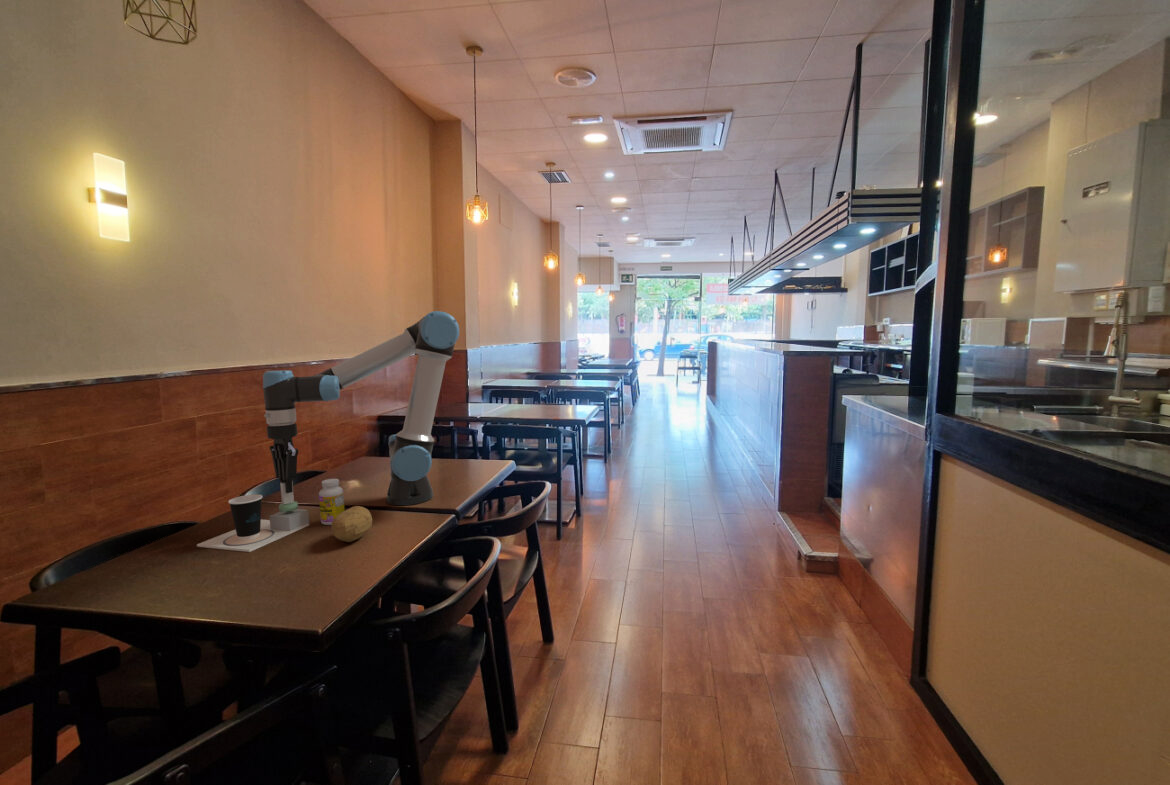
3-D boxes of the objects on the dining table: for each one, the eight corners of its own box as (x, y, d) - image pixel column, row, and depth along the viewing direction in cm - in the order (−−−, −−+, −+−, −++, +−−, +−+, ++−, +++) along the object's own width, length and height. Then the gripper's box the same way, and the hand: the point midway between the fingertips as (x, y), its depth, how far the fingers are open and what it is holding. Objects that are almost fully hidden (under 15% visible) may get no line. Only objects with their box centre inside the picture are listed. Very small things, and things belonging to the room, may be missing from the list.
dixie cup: (240, 533, 144) (237, 495, 143) (270, 530, 146) (267, 493, 145) (225, 543, 137) (222, 503, 136) (257, 541, 138) (254, 501, 137)
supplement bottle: (315, 524, 152) (312, 482, 151) (334, 517, 158) (331, 476, 157) (332, 526, 150) (329, 484, 148) (350, 519, 156) (347, 478, 155)
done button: (303, 521, 151) (301, 501, 151) (290, 527, 147) (288, 506, 146) (290, 520, 152) (288, 500, 152) (276, 526, 148) (274, 505, 147)
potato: (322, 550, 132) (319, 520, 131) (345, 530, 146) (343, 503, 145) (359, 549, 132) (357, 519, 132) (379, 529, 146) (377, 502, 146)
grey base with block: (310, 524, 152) (309, 509, 152) (249, 551, 132) (248, 534, 132) (262, 520, 157) (261, 506, 156) (196, 546, 137) (195, 530, 137)
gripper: (257, 423, 148) (264, 502, 150) (277, 427, 140) (284, 510, 142) (285, 420, 154) (291, 496, 156) (305, 423, 146) (311, 503, 148)
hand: (288, 502), depth 149 cm, fingers closed
